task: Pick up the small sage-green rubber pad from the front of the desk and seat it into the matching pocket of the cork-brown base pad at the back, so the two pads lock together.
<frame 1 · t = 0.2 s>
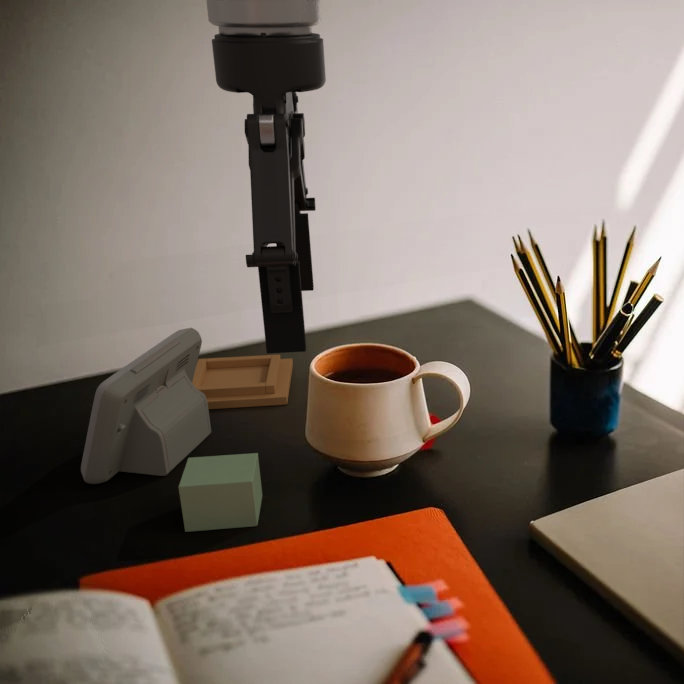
hand: (292, 318, 71), 19 cm above the table, tool pointing down, fingers open, 13 cm apart
digital clock: (152, 452, 90), on the table
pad: (225, 513, 80), on the table
socket pad: (237, 387, 104), on the table
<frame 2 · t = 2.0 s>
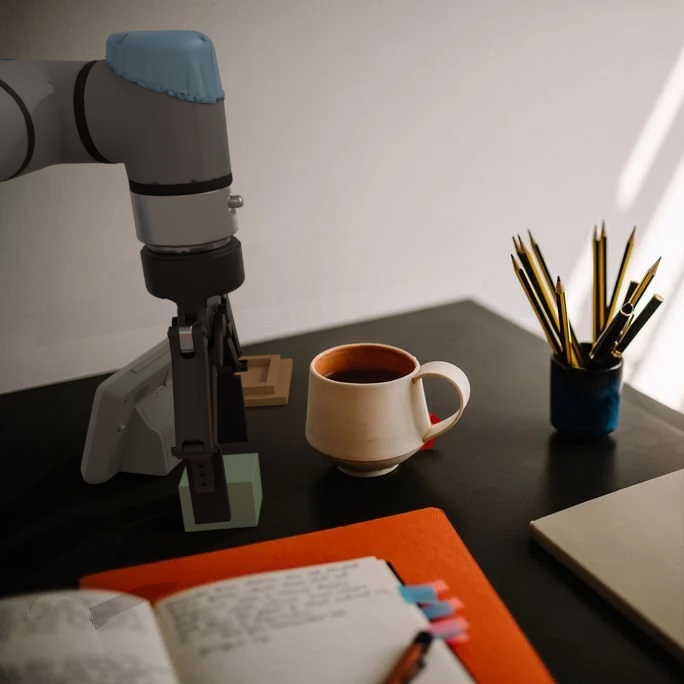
hand: (224, 478, 78), 4 cm above the table, tool pointing down, fingers open, 13 cm apart
nothing on the table moved.
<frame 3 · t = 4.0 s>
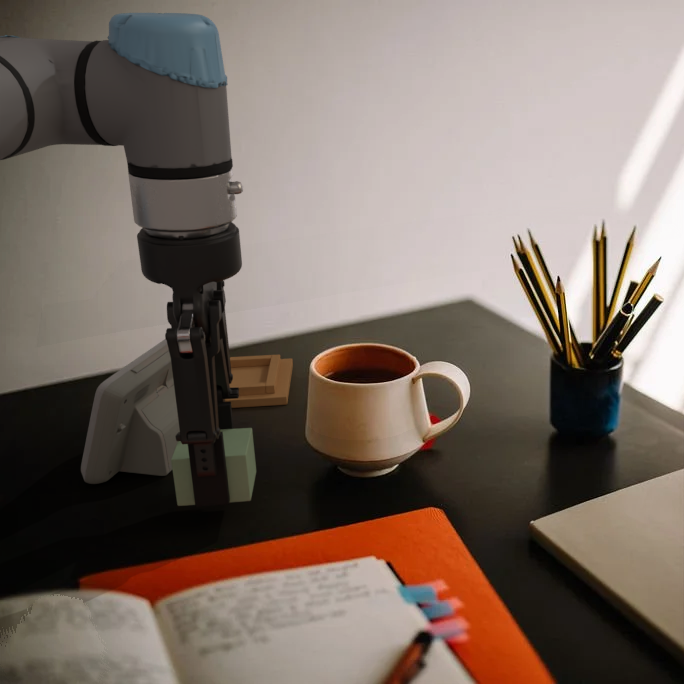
hand: (217, 485, 79), 3 cm above the table, tool pointing down, fingers closed on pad, 5 cm apart
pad: (218, 488, 79), point 3 cm above the table, touching gripper
everything else where it was.
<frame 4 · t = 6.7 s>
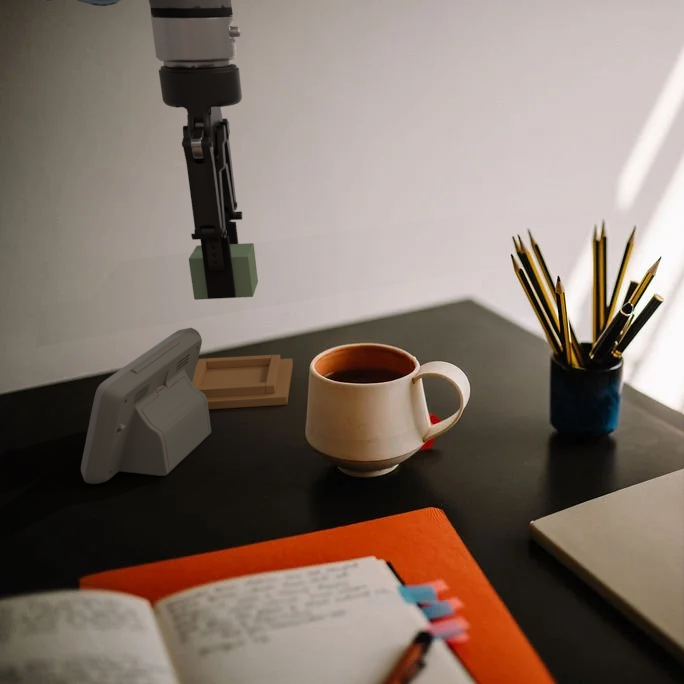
hand: (225, 288, 97), 13 cm above the table, tool pointing down, fingers closed on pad, 5 cm apart
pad: (227, 290, 97), point 13 cm above the table, touching gripper
everything else where it was.
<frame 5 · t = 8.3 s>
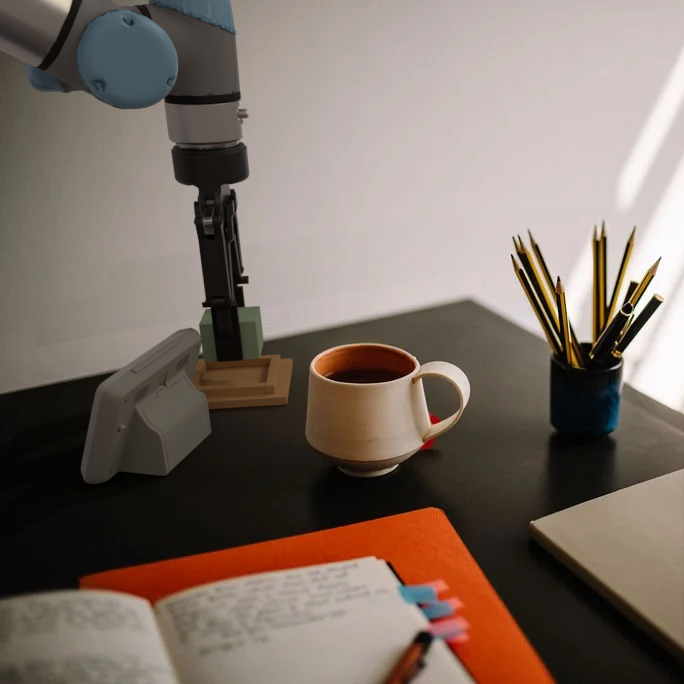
hand: (233, 349, 102), 5 cm above the table, tool pointing down, fingers closed on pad, 5 cm apart
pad: (234, 352, 103), point 4 cm above the table, touching gripper
everything else where it was.
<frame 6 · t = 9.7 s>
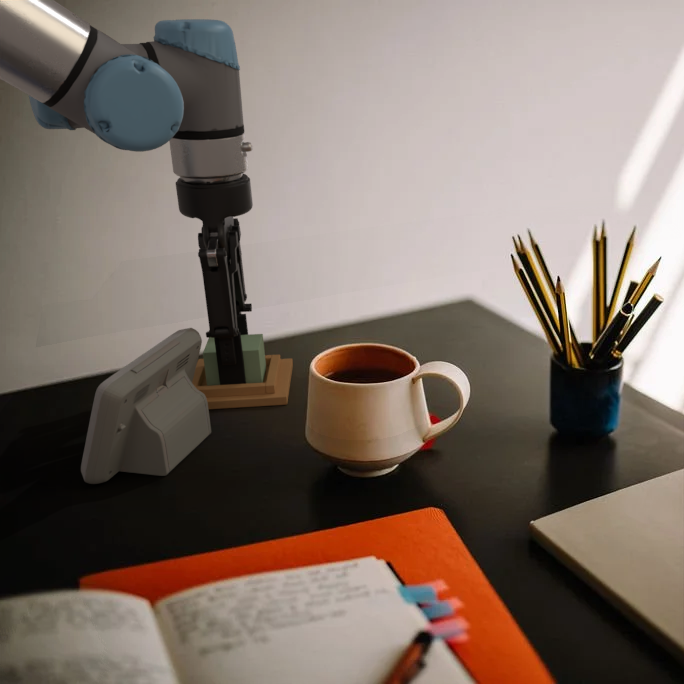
hand: (236, 376, 104), 1 cm above the table, tool pointing down, fingers closed on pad, 5 cm apart
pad: (237, 379, 104), point 1 cm above the table, touching gripper, socket pad
everything else where it was.
when the fingers open (2 cm above the table, at t = 10.7 s): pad stays where it is, resting on socket pad.
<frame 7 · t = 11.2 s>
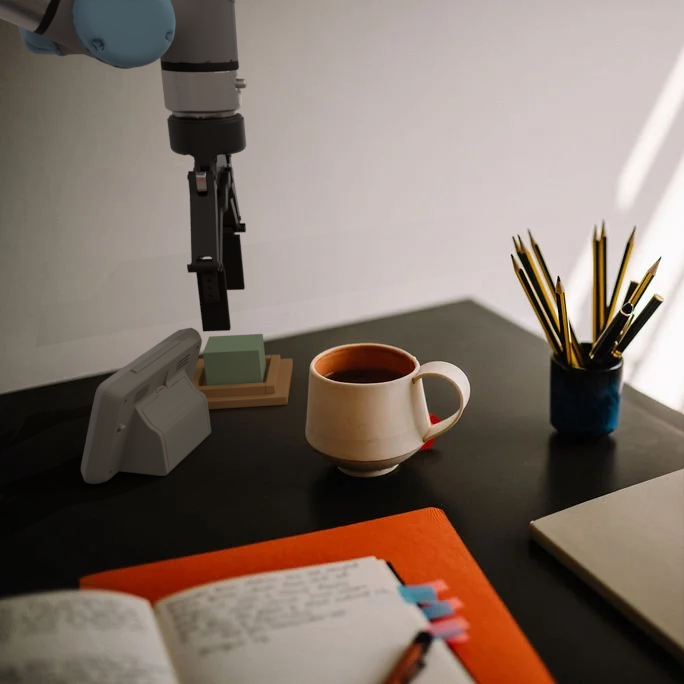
hand: (225, 308, 100), 10 cm above the table, tool pointing down, fingers open, 13 cm apart
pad: (237, 379, 104), point 1 cm above the table, touching socket pad
everything else where it was.
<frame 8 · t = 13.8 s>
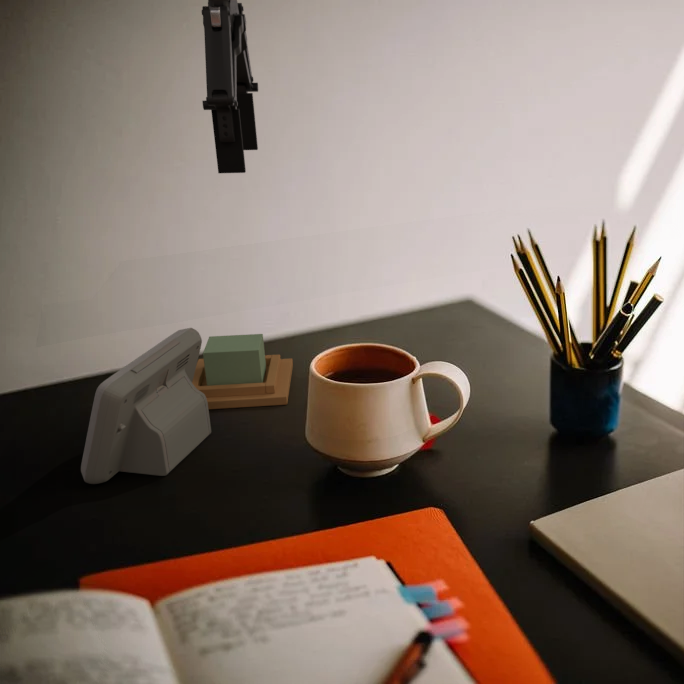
hand: (239, 160, 102), 25 cm above the table, tool pointing down, fingers open, 13 cm apart
nothing on the table moved.
at the end: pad 0.2 cm off-centre on the socket pad, point 1.0 cm above the socket pad's base; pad tilted 0°; the gripper is holding nothing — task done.
